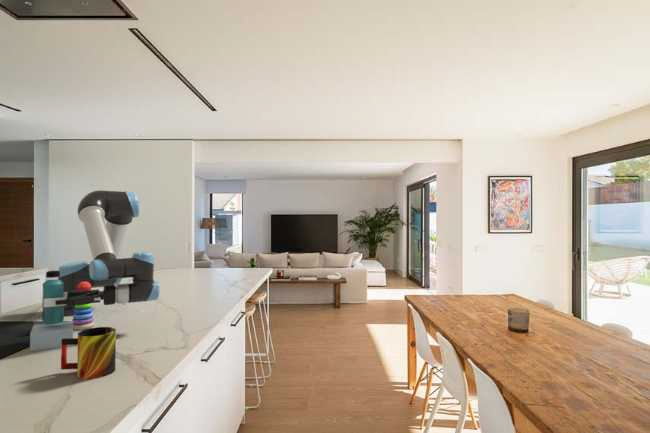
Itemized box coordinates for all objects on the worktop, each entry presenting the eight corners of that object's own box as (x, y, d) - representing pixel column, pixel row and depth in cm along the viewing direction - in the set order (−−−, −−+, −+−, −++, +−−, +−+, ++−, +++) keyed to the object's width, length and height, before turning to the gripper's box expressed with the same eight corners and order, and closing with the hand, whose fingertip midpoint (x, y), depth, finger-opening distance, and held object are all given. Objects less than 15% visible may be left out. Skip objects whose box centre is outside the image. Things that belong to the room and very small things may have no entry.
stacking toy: (83, 331, 156) (83, 283, 156) (66, 329, 158) (66, 283, 158) (98, 325, 164) (98, 280, 164) (81, 324, 165) (82, 280, 166)
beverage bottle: (68, 325, 143) (68, 270, 143) (50, 330, 137) (50, 272, 137) (55, 323, 145) (56, 269, 145) (37, 328, 139) (37, 271, 139)
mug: (61, 372, 115) (61, 331, 115) (114, 364, 122) (115, 325, 122) (58, 384, 107) (58, 340, 107) (116, 374, 114) (116, 333, 114)
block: (72, 336, 149) (72, 320, 149) (72, 345, 139) (72, 328, 139) (33, 341, 143) (33, 325, 143) (30, 351, 132) (30, 333, 132)
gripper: (117, 310, 141) (42, 318, 129) (113, 298, 161) (47, 304, 149) (118, 289, 141) (42, 295, 130) (113, 280, 161) (47, 284, 149)
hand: (44, 300), depth 139 cm, fingers open, 10 cm apart
